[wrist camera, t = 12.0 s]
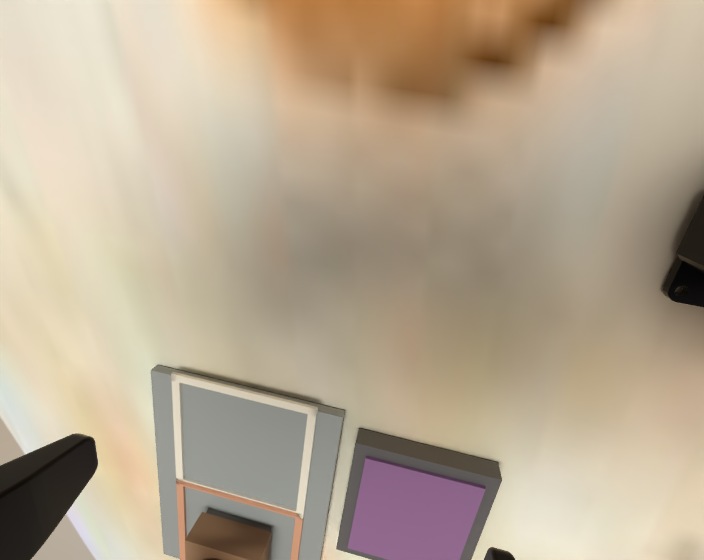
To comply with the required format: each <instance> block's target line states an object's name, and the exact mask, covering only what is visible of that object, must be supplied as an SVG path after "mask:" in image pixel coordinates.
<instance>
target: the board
mask: <svg viewBox="0 0 704 560" xmlns="http://www.w3.org/2000/svg"><path fill="white" fill-rule="evenodd" d="M151 380H152V394H153V408H154V422H155V436H156V451H157V465H158V479H159V493H160V507H161V522H162V536H163V550H164V554H166V555H169V556H173V557H176V558H179V559H180V560H185V539H186V537H187V536H188V534H189V532H190V531H191V529H192V527H193V526H194V524H195V522H196V521H197V519H198V518H199V516H200V514H201V513H202V512H205V513H206V512H207V510H208V508H211V509H214V510H217V511H221V512H224V513H228V514H231V515H235V516H238V517H242V518H245V519H248V520H252V521H255V522H259V523H262V524H266V525H269V526H271V542H270V553H269V560H321V554H322V548H323V542H324V536H325V530H326V524H327V518H328V511H329V505H330V499H331V493H332V487H333V481H334V475H335V469H336V463H337V456H338V450H339V444H340V438H341V432H342V426H343V420H344V414H345V410H341V409H337V408H333V407H328V406H324V405H320V404H316V403H312V402H308V401H304V400H300V399H296V398H291V397H287V396H283V395H279V394H275V393H271V392H267V391H263V390H259V389H254V388H250V387H246V386H242V385H238V384H234V383H230V382H226V381H222V380H217V379H213V378H209V377H205V376H201V375H197V374H193V373H189V372H185V371H180V370H176V369H172V368H168V367H164V366H160V365H157V366H155V367H154V368H153V369H152V370H151Z"/></svg>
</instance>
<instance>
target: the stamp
mask: <svg viewBox="0 0 704 560" xmlns="http://www.w3.org/2000/svg"><path fill="white" fill-rule="evenodd" d="M270 542H271V526H269V525H266V524H262V523H259V522H255V521H252V520H248V519H245V518H242V517H238V516H235V515H231V514H228V513H224V512H221V511H217V510H214V509H211V508H208V510H207V512H206V513H205V512H202V513H201V514H200V516H199V518H198V519H197V521H196V522H195V524H194V526H193V527H192V529H191V531H190V532H189V534H188V536H187V537H186V539H185V560H269V553H270Z"/></svg>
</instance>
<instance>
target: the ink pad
mask: <svg viewBox="0 0 704 560" xmlns="http://www.w3.org/2000/svg"><path fill="white" fill-rule="evenodd" d="M501 481H502V478H501V473H500V469H499V464H498V462H494V461H490V460H486V459H482V458H478V457H474V456H470V455H466V454H462V453H458V452H454V451H450V450H446V449H442V448H438V447H434V446H430V445H426V444H422V443H418V442H414V441H410V440H406V439H402V438H398V437H393V436H389V435H385V434H381V433H377V432H373V431H369V430H365V429H361V428H359V431H358V436H357V440H356V444H355V450H354V455H353V461H352V466H351V471H350V477H349V482H348V488H347V493H346V499H345V504H344V510H343V515H342V520H341V526H340V531H339V537H338V542H337V548H336V549H337V550H341V551H344V552H348V553H351V554H355V555H358V556H362V557H365V558H368V559H372V560H471V559H472V556H473V553H474V551H475V548H476V546H477V543H478V541H479V538H480V535H481V533H482V530H483V528H484V525H485V523H486V520H487V517H488V515H489V512H490V510H491V507H492V504H493V502H494V499H495V497H496V494H497V492H498V489H499V486H500V484H501Z"/></svg>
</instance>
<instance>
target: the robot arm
mask: <svg viewBox="0 0 704 560" xmlns="http://www.w3.org/2000/svg"><path fill="white" fill-rule="evenodd" d="M677 254H678V256H677V259H676V261H675V263H674V265H673V267H672V269H671V271H670V273H669V275H668V277H667V279H666V281H665V284H664V286H663V294H664V295H665V296H666V297H668V298H669V299H671V300H672V301H675V302H679V303H684V304H690V305H695V306H700V307H704V196H703V199H702V201H701V203H700V205H699V207H698V209H697V211H696V213H695V215H694V217H693V220H692V222H691V224H690V226H689V228H688V230H687V232H686V234H685V236H684V238H683V240H682V243H681V245H680V247H679V249H678V251H677ZM679 286H683V289H682V290H681V291H680V292H679V293H675V290H676V288H677V287H679ZM97 465H98V459H97V452H96V446H95V441H94V439H93V438H92V437H90V436H86V435H83V434H72V435H69V436H67V437H65V438H63V439H60V440H58V441H56V442H53V443H51V444H49V445H46V446H44V447H42V448H40V449H37V450H35V451H33V452H30V453H28V454H26V455H23V456H21V457H19V458H17V459H14V460H12V461H10V462H7V463H5V464H3V465H1V466H0V560H30V559H32V557H33V556H34V555H35V554H36V553H37V551H38V550H39V549H40V548H41V546H42V545H43V544H44V542H45V541H46V540H47V539H48V537H49V536H50V535H51V533H52V532H53V531H54V529H55V528H56V527H57V525H58V524H59V522H60V521H61V520H62V518H63V517H64V515H65V514H66V513H67V511H68V510H69V508H70V507H71V506H72V504H73V503H74V501H75V500H76V499H77V497H78V496H79V494H80V493H81V492H82V490H83V489H84V487H85V486H86V485H87V483H88V482H89V480H90V479H91V478H92V476H93V475H94V473H95V471H96V469H97ZM484 560H515V558H514V557H513V555H512V554H511V553H510V552H508V551H505V550H501V549H497V548H494V547H491V548H489V549H488V551H487V553H486V556H485V558H484Z"/></svg>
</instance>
